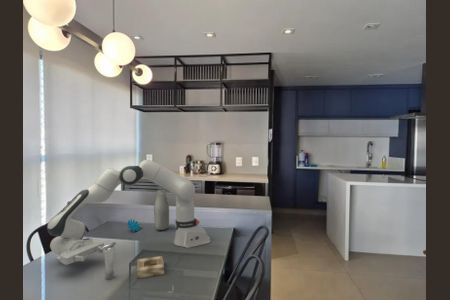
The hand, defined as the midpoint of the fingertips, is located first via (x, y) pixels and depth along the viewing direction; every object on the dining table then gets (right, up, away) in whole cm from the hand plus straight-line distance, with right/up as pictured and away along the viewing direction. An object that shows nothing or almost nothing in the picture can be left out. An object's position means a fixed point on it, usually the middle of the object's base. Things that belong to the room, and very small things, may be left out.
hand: (93, 254), depth 123 cm
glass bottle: (+18, -6, +59) cm, 62 cm away
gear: (-1, -6, +57) cm, 58 cm away
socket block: (+27, -8, +2) cm, 28 cm away
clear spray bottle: (+10, -8, -5) cm, 14 cm away
